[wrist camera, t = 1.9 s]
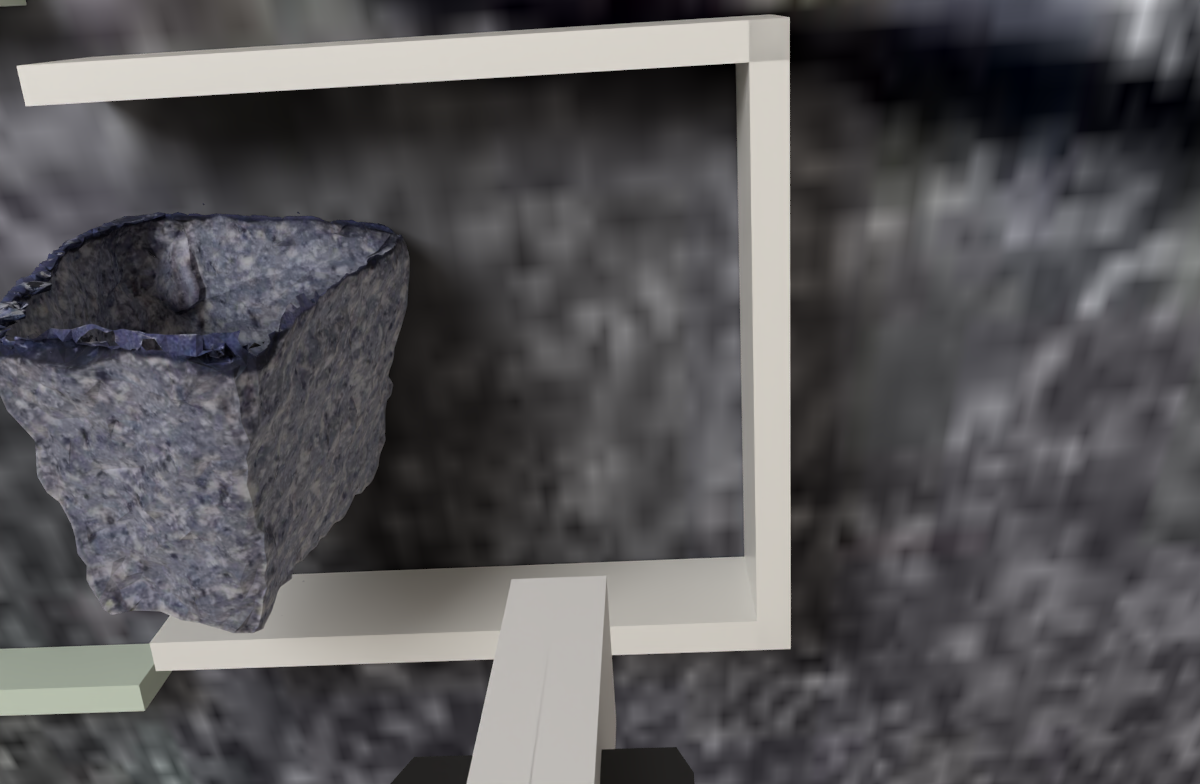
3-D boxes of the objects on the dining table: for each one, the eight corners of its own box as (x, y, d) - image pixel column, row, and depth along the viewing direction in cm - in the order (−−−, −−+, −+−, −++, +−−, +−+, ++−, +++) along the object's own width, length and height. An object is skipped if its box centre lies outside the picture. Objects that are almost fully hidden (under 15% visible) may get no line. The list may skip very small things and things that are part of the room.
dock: (203, 603, 38) (155, 670, 34) (89, 57, 32) (16, 65, 28) (775, 582, 37) (790, 648, 33) (770, 14, 31) (789, 17, 27)
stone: (170, 132, 34) (462, 174, 31) (222, 404, 39) (477, 462, 36) (-183, 287, 24) (192, 368, 22) (-53, 621, 30) (264, 723, 27)
